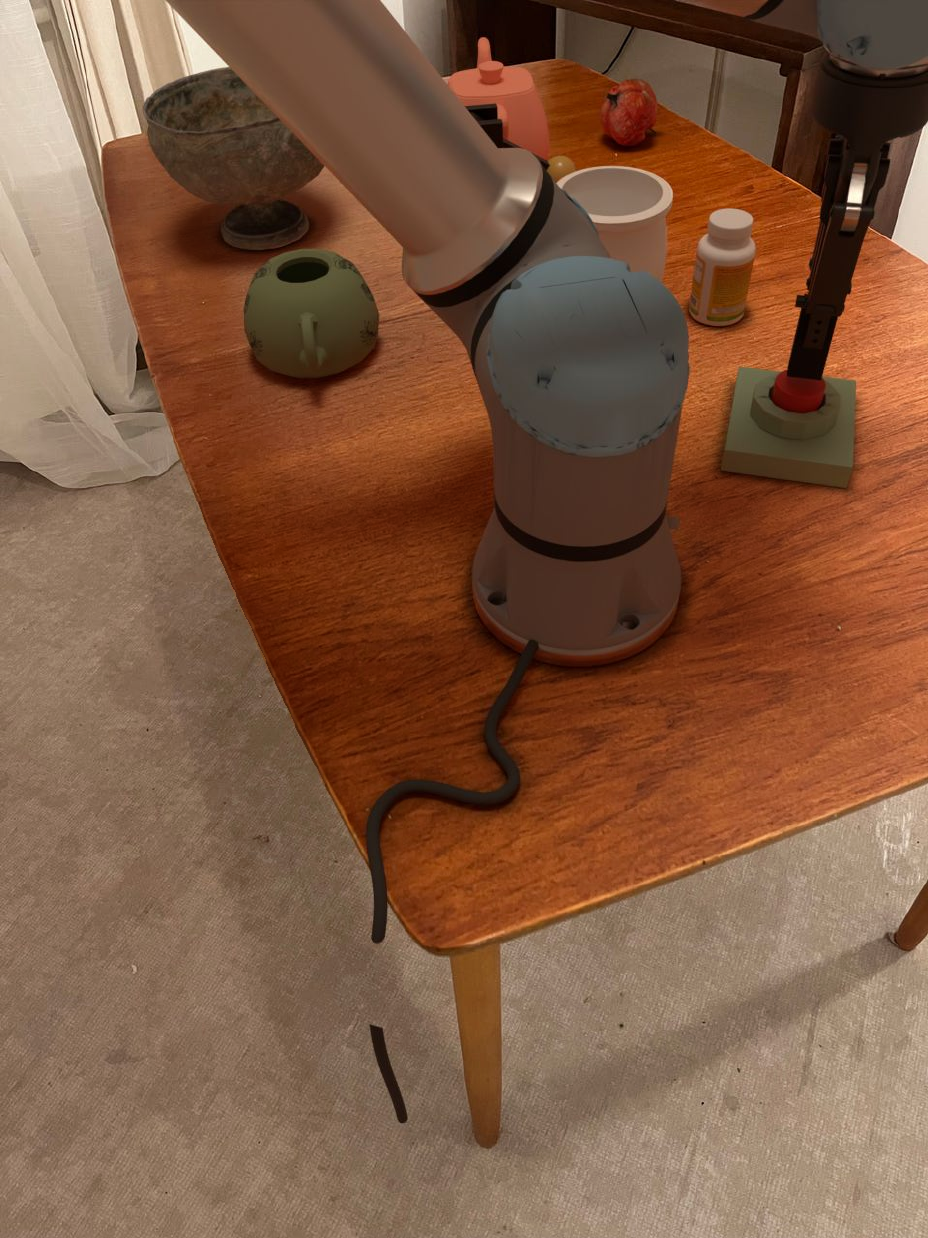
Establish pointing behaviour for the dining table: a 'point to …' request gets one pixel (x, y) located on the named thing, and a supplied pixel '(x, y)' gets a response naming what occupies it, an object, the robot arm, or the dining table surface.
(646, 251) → the jar
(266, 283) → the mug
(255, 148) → the bowl
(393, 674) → the dining table surface
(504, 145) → the lock lever
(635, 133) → the pomegranate
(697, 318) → the supplement bottle
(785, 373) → the button
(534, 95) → the teapot
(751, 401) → the button box
